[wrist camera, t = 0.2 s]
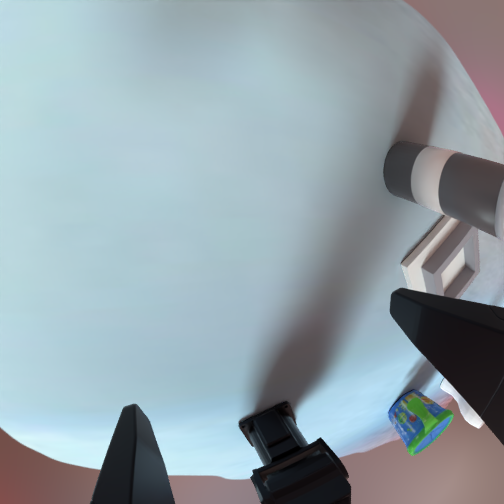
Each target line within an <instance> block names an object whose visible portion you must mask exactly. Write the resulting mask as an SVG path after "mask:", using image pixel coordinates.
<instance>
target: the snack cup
mask: <svg viewBox="0 0 504 504" xmlns="http://www.w3.org/2000/svg"><path fill="white" fill-rule="evenodd" d="M388 414H389V419H390V421H391V422H392V424H393V425H394V427H395V429H396V431H397V432H398V434H399V435H400V437H401V439H402V440H403V442H404V443H405V445H406V447H407V451H408V452H409V454H411V455H412V456H413V455H416V454H418V453H419V452H421V451H422V450H424V449H425V448H426V447H428V446H429V445H430V444H431V443H432V442H433V441H434V440H436V439H437V438H438V437H439V436H440V435H441V433H442V432H443V431H444V430H445V429H446V428H447V426H448V425H449V424H450V422H451V421H452V419H453V417H454V414H453V413H452V411H451V410H446V409H444V408H442V407H441V406H439V405H438V404H437V403H435V402H434V401H432V400H431V399H429V398H427V397H426V396H425V395H423V394H422V393H420V392H418V391H416V390H412V391H411V392H408V393H406V394H405V395H403V396H402V397H401V398H400V399H399V400H398V401H397V402H396V403H395V404H394V406H393V407H392V408H391V410H390V411H389V413H388Z"/></svg>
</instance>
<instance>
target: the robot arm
mask: <svg viewBox="0 0 504 504" xmlns="http://www.w3.org/2000/svg"><path fill="white" fill-rule="evenodd" d="M390 314H391V316H392V317H393V319H394V320H395V321H396V322H397V324H398V325H399V326H400V328H401V329H402V330H403V331H404V333H405V334H406V335H407V337H408V338H409V339H410V340H411V342H412V343H413V344H414V345H415V346H416V348H417V349H418V350H419V351H420V352H421V353H422V354H423V355H424V356H425V357H426V358H427V359H428V360H429V361H430V362H431V364H432V365H433V366H434V367H435V368H436V369H437V370H438V371H439V372H440V373H441V374H442V375H443V376H444V378H445V379H446V380H447V381H448V382H449V383H450V384H451V385H452V386H453V387H454V389H455V390H456V391H457V392H458V393H459V394H460V395H461V396H462V397H463V399H464V400H465V401H466V402H467V403H468V404H469V405H470V406H471V408H472V409H473V410H474V411H475V412H476V413H477V414H478V416H479V417H480V418H481V419H482V420H483V421H484V423H485V424H486V425H487V426H488V427H489V428H490V430H491V431H492V432H493V433H494V434H495V436H496V437H497V438H498V439H499V440H500V442H501V443H502V444H503V445H504V308H503V307H497V306H492V305H487V304H482V303H477V302H471V301H466V300H461V299H456V298H451V297H446V296H441V295H436V294H431V293H426V292H421V291H416V290H411V289H406V288H399V289H397V290H395V291H394V292H392V294H391V301H390ZM296 425H297V424H296V421H295V418H294V415H293V412H292V409H291V406H290V404H289V403H288V402H283V403H281V404H279V405H277V406H275V407H273V408H271V409H269V410H267V411H265V412H263V413H261V414H259V415H257V416H254V417H252V418H250V419H248V420H246V421H243V422H241V423H240V424H239V428H240V430H241V431H242V432H243V434H244V435H245V437H246V438H247V440H248V441H249V443H250V444H251V446H252V447H255V449H256V451H257V453H258V455H259V457H260V459H261V461H262V463H263V465H264V466H263V467H261V468H258V469H254V470H252V471H253V475H252V476H251V477H250V478H251V480H252V482H253V484H254V486H255V488H256V491H257V494H258V496H259V499H260V502H261V504H351V486H350V484H349V483H348V481H347V479H348V478H349V475H348V473H347V470H346V469H345V467H344V465H343V464H342V462H341V461H340V459H339V458H338V457H337V456H336V454H335V453H334V452H333V451H332V450H331V449H330V447H329V446H328V445H327V444H326V443H325V442H324V440H323V439H322V438H319V439H317V440H316V441H315V442H313V443H311V444H308V443H307V441H306V440H305V438H304V437H303V435H302V434H301V432H300V431H299V429H298V427H297V426H296ZM90 504H175V501H174V498H173V494H172V491H171V487H170V483H169V479H168V475H167V471H166V467H165V464H164V461H163V458H162V455H161V453H160V450H159V447H158V444H157V441H156V438H155V435H154V432H153V429H152V426H151V423H150V421H149V419H148V418H147V416H146V415H145V414H144V413H143V411H142V410H141V409H140V407H139V406H138V405H137V404H131V405H128V406H125V407H124V408H123V409H122V412H121V415H120V417H119V420H118V423H117V426H116V428H115V431H114V434H113V436H112V439H111V442H110V445H109V448H108V450H107V453H106V456H105V459H104V462H103V465H102V468H101V471H100V474H99V477H98V480H97V483H96V486H95V489H94V492H93V495H92V500H91V502H90Z"/></svg>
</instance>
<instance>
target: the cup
mask: <svg viewBox="0 0 504 504" xmlns="http://www.w3.org/2000/svg"><path fill="white" fill-rule="evenodd" d="M440 388H441V389H442V390H444V391H445V392H447V393H449V394H451V395H452V396H453V397H454V399H455V400H456V401H457V402H458V405H459V408H460V411H461V413H462V415H463V417H464V419H465V420H466V421H467V422H468V423H469V424H471V425H473V426H475V427H477V428H480V427H481V426H482V425H483V424H484V421H483V420H482V419H481V418H480V417H479V416H478V414H477V413H476V412H475V411H474V410H473V409H472V408H471V406H470V405H469V404H468V403H467V402H466V401H465V400H464V399H463V397H462V396H461V395H460V394H459V393H458V392H457V391H456V390H455V389H454V387H453V386H452V385H451V384H450V383H449V382H448V381H447V380H446V379H445V378H444V379H443V381H442V383H441V385H440Z"/></svg>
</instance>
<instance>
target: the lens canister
mask: <svg viewBox="0 0 504 504" xmlns="http://www.w3.org/2000/svg"><path fill="white" fill-rule="evenodd" d="M384 181H385V184H386V187H387V188H388V190H389V191H390V192H391V193H392V194H393V195H395V196H398V197H401V198H403V199H406V200H409V201H411V202H414V203H417V204H419V205H421V206H423V207H426V208H428V209H431V210H433V211H436V212H438V213H441V214H443V215H446V216H449V217H452V218H454V219H457V220H459V221H461V222H464V223H466V224H468V225H471V226H473V227H475V228H477V229H480V230H482V231H484V232H486V233H488V234H491V235H493V236H495V237H497V238H498V239H500V240H502V241H504V165H503V164H500V163H497V162H493V161H489V160H486V159H482V158H478V157H475V156H471V155H467V154H463V153H461V152H457V151H452V150H448V149H443V148H439V147H434V146H426V145H421V144H416V143H410V142H405V141H402V142H398V143H396V144H395V145H394V146H393V147H392V148H391V149H390V151H389V152H388V154H387V156H386V159H385V163H384Z"/></svg>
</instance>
